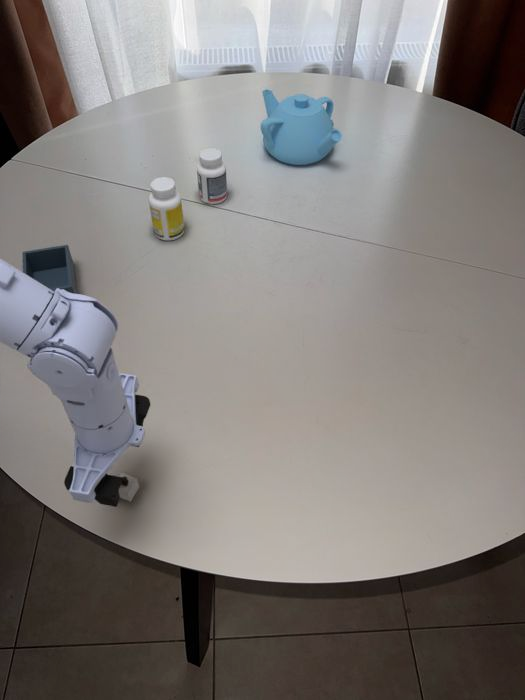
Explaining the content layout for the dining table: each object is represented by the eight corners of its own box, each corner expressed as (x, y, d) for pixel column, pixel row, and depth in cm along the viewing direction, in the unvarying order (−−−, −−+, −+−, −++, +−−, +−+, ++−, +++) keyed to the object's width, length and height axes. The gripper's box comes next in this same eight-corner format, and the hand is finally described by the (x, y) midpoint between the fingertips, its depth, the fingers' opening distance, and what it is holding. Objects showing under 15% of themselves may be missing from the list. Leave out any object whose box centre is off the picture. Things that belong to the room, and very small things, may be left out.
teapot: (259, 173, 114) (260, 119, 106) (261, 128, 125) (262, 75, 117) (337, 175, 114) (344, 121, 106) (332, 130, 125) (338, 78, 117)
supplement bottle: (187, 223, 104) (182, 175, 96) (181, 242, 100) (175, 194, 93) (157, 221, 104) (150, 173, 97) (150, 240, 101) (142, 192, 93)
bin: (78, 307, 90) (71, 286, 87) (32, 315, 89) (23, 294, 85) (74, 265, 96) (67, 244, 93) (30, 272, 95) (22, 251, 92)
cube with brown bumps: (115, 495, 70) (111, 485, 68) (124, 480, 71) (120, 470, 69) (130, 502, 70) (127, 492, 68) (139, 487, 71) (136, 477, 69)
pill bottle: (232, 193, 110) (231, 151, 103) (217, 208, 107) (215, 165, 100) (209, 185, 112) (206, 142, 105) (193, 199, 109) (189, 156, 102)
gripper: (110, 478, 51) (134, 538, 62) (158, 354, 60) (172, 424, 71) (34, 464, 52) (71, 526, 62) (93, 344, 61) (116, 415, 72)
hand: (121, 471), depth 67 cm, fingers open, 7 cm apart
